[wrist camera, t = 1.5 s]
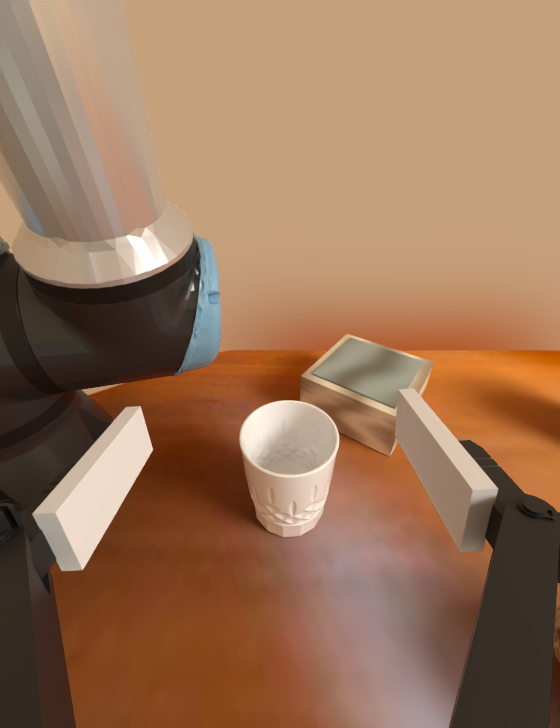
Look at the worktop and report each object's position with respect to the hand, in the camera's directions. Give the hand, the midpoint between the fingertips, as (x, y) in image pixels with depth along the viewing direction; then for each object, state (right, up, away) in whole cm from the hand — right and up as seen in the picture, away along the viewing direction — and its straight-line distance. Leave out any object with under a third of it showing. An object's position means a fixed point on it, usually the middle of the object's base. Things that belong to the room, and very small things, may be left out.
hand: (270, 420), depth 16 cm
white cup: (+1, -11, +15) cm, 18 cm away
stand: (+11, -3, +26) cm, 28 cm away
